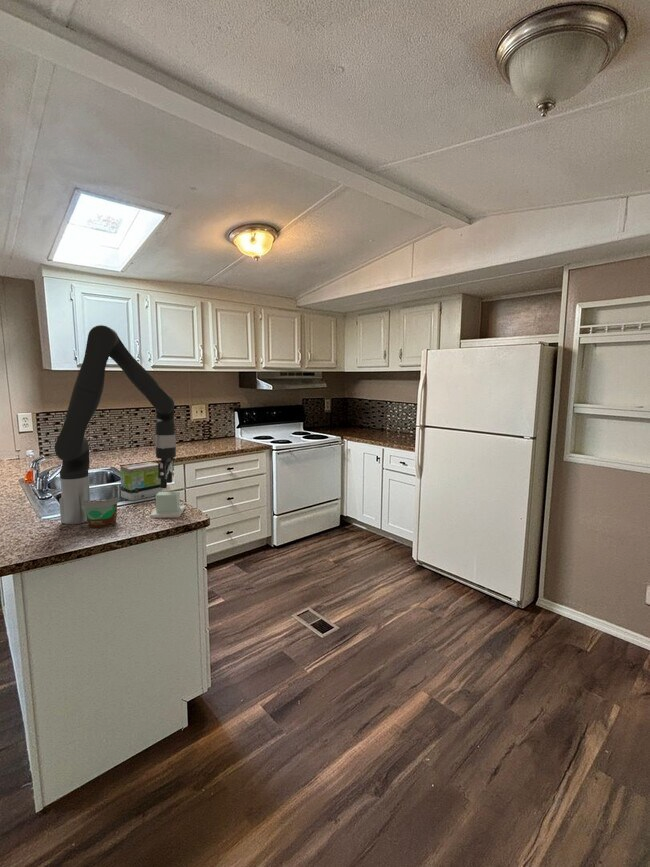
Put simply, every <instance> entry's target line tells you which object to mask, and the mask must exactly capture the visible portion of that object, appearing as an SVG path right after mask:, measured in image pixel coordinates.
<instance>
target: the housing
mask: <svg viewBox="0 0 650 867" xmlns="http://www.w3.org/2000/svg"><path fill="white" fill-rule="evenodd" d="M180 500H181V499H180V491H162V492H159V493H158V494H156V496H155V509H156V512H177V511H178V510H179V509H180V506H181V502H180Z"/></svg>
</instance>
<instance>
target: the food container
mask: <svg viewBox="0 0 650 867" xmlns="http://www.w3.org/2000/svg"><path fill="white" fill-rule="evenodd" d="M119 502H120V500H119V497H118V496H116V497H114V498H111V499H107V498H105V499H104V498H99V499H95V500H90V501H85V500H83V504H82V506H83V507H85V512H86V517H87V526H88V527H89V528H92V529H101V528H102V529H103V528H108V527H111V526H113V525H115V524H116V523H117V513H118V503H119Z"/></svg>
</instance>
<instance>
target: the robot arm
mask: <svg viewBox="0 0 650 867" xmlns="http://www.w3.org/2000/svg"><path fill="white" fill-rule="evenodd" d="M109 358H110V359H111V360H113V361H114V362H115V363H116V365H117V366H118V367H119V368H120V369H121V370H122V372H123V373H124V374H125V376H126V377H127V378H128V380H129V382H131V383H132V384H133V386H134V387H135V388H136V389H137V390H138V391H139V392H140V393H141V394H142V395H143V396H144V397H145V398H146V399H147V401H148V402H149V403H150V404H151V405H152V407H153V408H154V409H155V415H156V421H155V457H156V458H157V459H160V462H158V463H157V464H158V478H160V480H161V488H162V489H167V487H168V483H169V484H170V483H173V472H174V470H175V469H174V466H175V463H174V458H176V456H177V451H176V450H177V449H176V448H177V445H176V444H177V440H176V430H175V429H176V428H175V400H174V398H172V397H171V396H169V395H168V394H167V392H166V391H165V390H164V389H162V387H161V386H160V385H159V383H158V382H157V381H156V379H155V378H154V377H153V376H152V375H151V374H150V373H149V372H148V371H147V370H146V369H145V368H144V367H143V365H141V363H139V361H138V360H136V358H135V357H134V356H133V355H132V354H131V353H130V351H129V350H128V349H127V347H126V346H125V344H124V343H123V342H122V340H121V338H120V337H119V336H118V333H117V331H116V330H115V329H113V328H111V327H109V326H107V325H105V324H104V325H103V324H99V325H95V326H93V327H92V328H91V329H90V330H89V332H88V334H87V340H86V346H85V351H84V358H83V360H82V362H81V365H80V369H79V371H78V374H77V376H76V380H75V382H74V385H73V389H72V392H71V396H70V399H69V403H68V408H67V410H66V415H65V420H64V423H63V425H62V427H61V430H60V432H59V435H58V437H57V440H56V441H55V444H54V452H55V454H56V456H57V458H58V459H59V460H62V464H61V467H60V470H59V481H60V493H61V494H60V496H61V497H60V498H59V499H58V502H59V512H60V513H59V514H60V523H61V524H65V525H78V524H83V523H84V524H85V523H86V522H87V517H86V512H85V507H83V506H82V504H83V500H85V501H91V493H90V491H91V490H90V479H89V478H90V477H89V470H90V464H91V463H90V446H89V442H88V440H87V438H86V437H85V434H86V430H87V427H88V424H89V423H90V421H91V420H92V418H93V416H94V414H95V413H96V411H97V409H98V407H99V405H100V402H101V399H102V394H103V391H104V388H105V386H104V385H105V376H106V366H107V364H108V361H109ZM87 523H88V522H87Z"/></svg>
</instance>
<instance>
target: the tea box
mask: <svg viewBox="0 0 650 867" xmlns="http://www.w3.org/2000/svg"><path fill="white" fill-rule="evenodd" d="M119 468H120V493H121V494H120V495H121V498H123V499H125V500H128V501H130V500H134V501H137V500H141V499H147V498H151V497H155V496H154V495H156V494H158V493H159V492H163V488H161V480H160V478H158V463H157V462H152V461H147V462H141V463H134V464H127V465H122V466H120V467H119ZM146 497H147V498H146Z"/></svg>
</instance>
